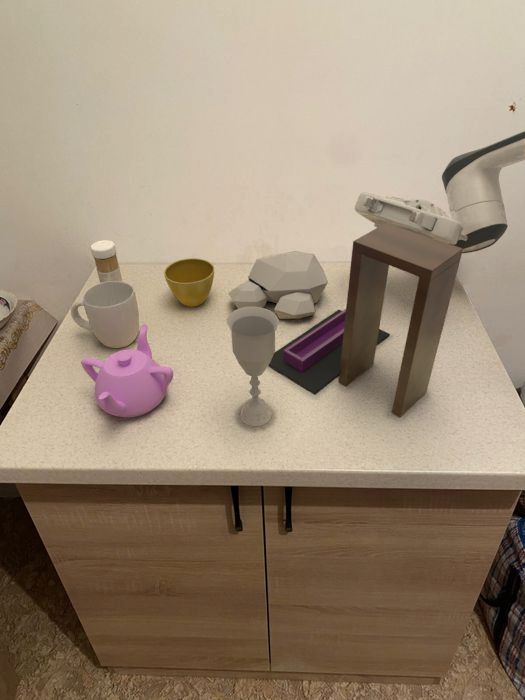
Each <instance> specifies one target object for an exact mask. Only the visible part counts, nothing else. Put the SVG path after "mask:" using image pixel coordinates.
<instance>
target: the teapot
mask: <svg viewBox="0 0 525 700" xmlns="http://www.w3.org/2000/svg"><path fill="white" fill-rule="evenodd" d="M147 333H148V324H147V323H146V324H145V323H144V324H143V325H142V326H141V327H140V330H139V331H138V337H137V338H138V339H137V347H136V349H124V350H119V351H117V352H114V353H112V354H111V355H109V356H108V357H107V358H106V359H105V360H104V361H103V360H100V359H98V358H95V357H91V356H86V357H83V358H82V359H81V361H80V364H81V367H82V368H83V370H84V371H85V373H86V374H87V375H88V376H89V377H90V379H91V380H92V381H93V382H94V384H95V385H94V397H95V401H96V404H97V406H99V408H100V409H102V411H104V412H105V413H106V414H109V415H112V416H114V417H118V418H127V419H128V418H136V417H141V416H144V415H146V414H148V413H150V412H151V411H153V410H154V409H156V408H157V406H159V405H160V404H161V403H162V401H163V400H164V398H165V397H166V394H167V391H168V387H169V385H170V384H171V382H172V381H173V378H174V371H173V369H172V368H171V367H169V366H162V365H161V366H160V365H159V364H158V363H157V362H156V361H155V360H154V359H153V353H152V350H151V347H150V344H149V341H148V337H147V335H148V334H147ZM94 367H95V368H97V369H99V371H98V372H97V371H96V369H95V368H94Z"/></svg>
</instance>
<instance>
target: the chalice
mask: <svg viewBox="0 0 525 700" xmlns="http://www.w3.org/2000/svg"><path fill="white" fill-rule="evenodd" d="M279 323H280V321H279V317H278V315H277V314H275V313H274V312H273V311H272V310H270V309H267V308H264V307H263V308H261V307H243V308H239V309H238V308H237V309H235V310H233V311H232V312H230V313H229V314H228V316H227V318H226V324H227V327H228V328H229V330H230V331H231V347H232V353H233V355H234V357H235V359H236V361H237V363H238V365H239V366H240V367H241V369H242V370H243V371H244V373H245V374H246V375H247V376H250V377H251V379H250V380H249V381H248V382H249V383H248V384H249V385H250V386H251V388H250V389H249V391H248V392H249V394H250V395H251V398H249V399H247V400H246V401H245V402H244V403H243V406H242V408H241V409H240V412H239V418H240V420H241V421H242V422H243V423H244V424H245V425H248V426H251V427H252V426H253V427H260V426H264V425H266V424H268V423H269V422H270V421H271V419H272V416H273V412H272V409H271V408H270V407H269V405H268V403H267V401H266V400H264V399H263V398H261V397H259V396H260V395H261V393H262V390H261V389H260V388H259V386H260V384H261V381H260V380H259V377H260V376H262V375H263V374H264V373H265V371H266V370H267V368H268V367H269V366H268V365H269V364H270V362H271V359H272V357H273V355H274V353H275V352H276V330H277V328H278V326H279Z"/></svg>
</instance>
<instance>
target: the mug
mask: <svg viewBox="0 0 525 700" xmlns="http://www.w3.org/2000/svg"><path fill="white" fill-rule="evenodd" d="M79 307H83V309H84V311H85V314H86V318H87V319H88V320H85V319H84V318H83V317H82V316H81V315H80V313H79ZM70 315H71V318H72V320H73V321H74V322H75V324H77V326H79V327H80V328H82V329H85V330H86V331H93V334H94V335H95V337H96V338H97V340H98V342H100V343H101V344H102V345H103V346H105V347H107V348H110V349H120V348H125V347H127V346H129V345H131V344H132V343H133V342H134V341H135V340H136V338H138V335H139V327H140V316H139V315H140V313H139V306H138V300H137V295H136V291H135V289H134V287H133V286H132V285H131V284H130V283H128V282H124V281H123V282H121V281H107V282H102V283H100V282H99V283H96V284H94V285H92V286H91V287H89V288H88V289H87V290H85V292H84V293H83V294H82V298H80V299H78V300H76V301H74V302H73V304H72V306H71V307H70Z"/></svg>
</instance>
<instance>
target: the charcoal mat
mask: <svg viewBox="0 0 525 700" xmlns="http://www.w3.org/2000/svg"><path fill="white" fill-rule="evenodd" d="M342 311H343V310H341V309H337V310H336V311H335V312H333V313H331V314H329V316H327V317H326V318H324V319H322V320H321V321H320V322H318V323H316V324H315V325H313V326H312V327H310V328H309V329H307V330H306V331H304V332H302V333H301V334H300V335H299V336H297V337H295V338H294V339H293V340H291V341H290V342H288V343H287V344H284V345H283V346H281V347H280V348H279V349H277V350H275V352H274V355H273V357H272V359H271V362H270V364H269V365H268V367H269V368H271V369H273V370H274V371H276V372H277V373H279V374H281V375H282V376H283V377H286V378H287V379H288V380H290V381H292V382H293V383H295V384H297V385H298V386H300V387H302V388H303V389H305V390H306V391H308V392H310V393H312V394H313V395H317V394H318V393H319V392H320V391H321V390H323V389H324V388H325V387H327V385H329V384H330V383H331V382H333V381H334V380H335V379H336V378H339V373H340V363H341V354H342V344H341V345H340V346H339V347H337V348H336V349H334V350H333V351H332V352H330V353H329V354H328V355H326V356H325V357H323V358H322V359H321V360H319V361H318V362H317V363H315V364H314V365H312V366H311V367H310V368H308V369H307V370H305V371H304V372H303V373H302V372H300V371H298V370H297V369H295V368H293V367H292V366H290V365H288V364H287V363H285V362H284V350H285V349H286V348H288V347H289V346H291V345H292V344H294V343H295V342H297V341H298V340H300V339H301V338H303V337H304V336H306V335H307V334H309V333H310V332H312V331H313V330H315V329H316V328H318V327H319V326H321V325H322V324H324V323H325V322H327V321H328V320H330V319H331V318H333V317H334V316H336V315H337V314H339V313H340V312H342ZM390 335H391V334H390V333H389V332H388V331H385V330H382V329H381V328H379V333H378V339H377V345H376V347H377V346H379V345H380V344H381V343H382V342H383V341H385V340H386V339H388V337H390Z"/></svg>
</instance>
